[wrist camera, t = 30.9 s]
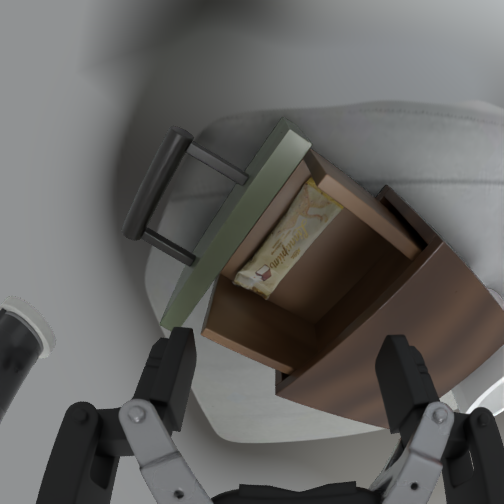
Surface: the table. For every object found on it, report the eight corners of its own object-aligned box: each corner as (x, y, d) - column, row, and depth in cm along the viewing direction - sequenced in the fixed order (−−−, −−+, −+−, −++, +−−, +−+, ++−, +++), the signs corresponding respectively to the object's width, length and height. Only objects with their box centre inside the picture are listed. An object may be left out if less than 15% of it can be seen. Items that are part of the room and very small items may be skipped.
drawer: (134, 232, 23) (91, 285, 16) (218, 77, 17) (189, 69, 11) (309, 329, 27) (316, 394, 20) (413, 219, 21) (458, 270, 14)
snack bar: (310, 174, 18) (347, 205, 18) (313, 173, 19) (348, 202, 19) (229, 282, 22) (261, 308, 22) (237, 275, 23) (267, 299, 23)
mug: (524, 299, 25) (565, 356, 16) (482, 357, 30) (510, 415, 21) (464, 280, 24) (516, 356, 15) (415, 351, 29) (443, 428, 20)
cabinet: (275, 311, 27) (274, 395, 19) (386, 184, 21) (444, 240, 13) (373, 360, 30) (390, 429, 22) (470, 269, 24) (517, 330, 16)
